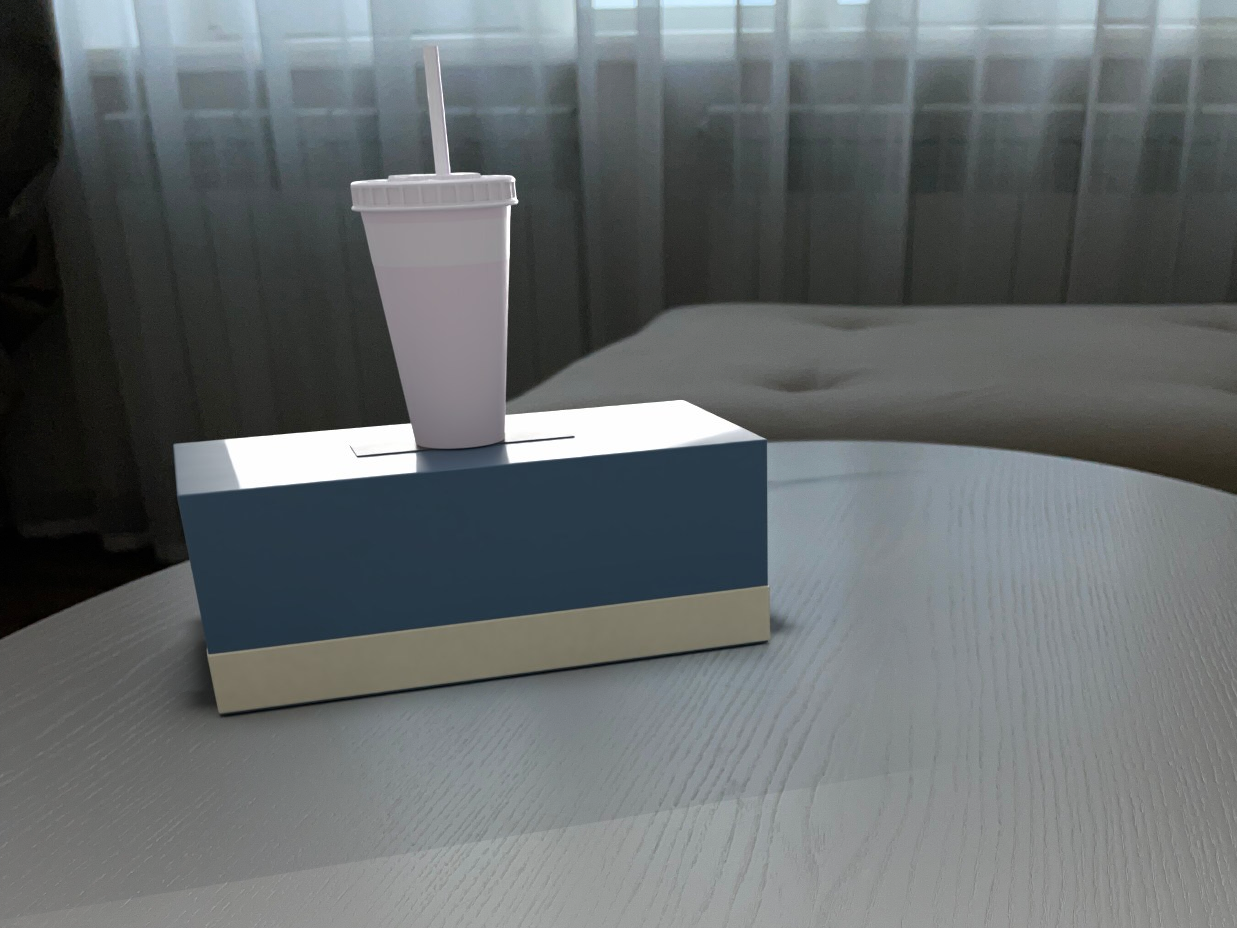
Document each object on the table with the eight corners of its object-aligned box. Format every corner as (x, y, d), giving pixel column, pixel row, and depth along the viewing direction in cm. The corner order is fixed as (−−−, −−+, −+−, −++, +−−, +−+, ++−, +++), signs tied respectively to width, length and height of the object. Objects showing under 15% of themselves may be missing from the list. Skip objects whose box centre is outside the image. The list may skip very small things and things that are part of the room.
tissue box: (219, 717, 57) (175, 494, 52) (209, 636, 66) (171, 442, 62) (770, 642, 63) (769, 437, 58) (690, 578, 72) (684, 398, 68)
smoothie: (468, 460, 56) (424, 39, 49) (349, 447, 59) (293, 50, 53) (568, 431, 61) (540, 43, 54) (453, 421, 64) (413, 53, 57)
